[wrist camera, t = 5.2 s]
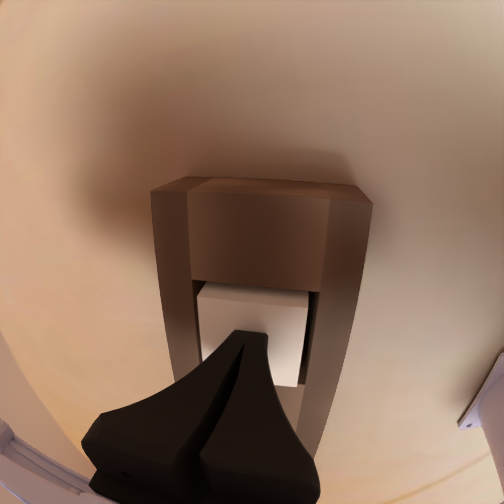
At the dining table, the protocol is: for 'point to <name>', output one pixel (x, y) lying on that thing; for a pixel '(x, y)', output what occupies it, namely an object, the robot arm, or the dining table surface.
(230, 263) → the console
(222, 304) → the beige cube
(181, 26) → the dining table surface
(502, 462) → the robot arm
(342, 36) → the dining table surface
